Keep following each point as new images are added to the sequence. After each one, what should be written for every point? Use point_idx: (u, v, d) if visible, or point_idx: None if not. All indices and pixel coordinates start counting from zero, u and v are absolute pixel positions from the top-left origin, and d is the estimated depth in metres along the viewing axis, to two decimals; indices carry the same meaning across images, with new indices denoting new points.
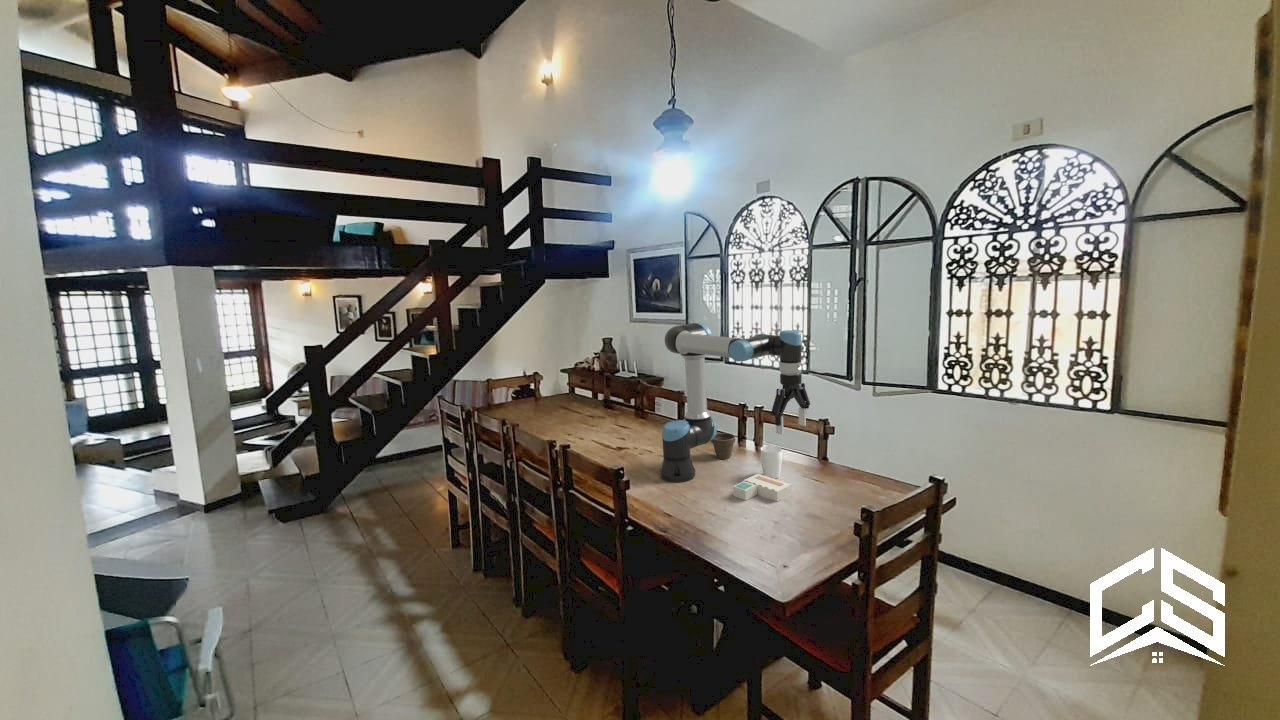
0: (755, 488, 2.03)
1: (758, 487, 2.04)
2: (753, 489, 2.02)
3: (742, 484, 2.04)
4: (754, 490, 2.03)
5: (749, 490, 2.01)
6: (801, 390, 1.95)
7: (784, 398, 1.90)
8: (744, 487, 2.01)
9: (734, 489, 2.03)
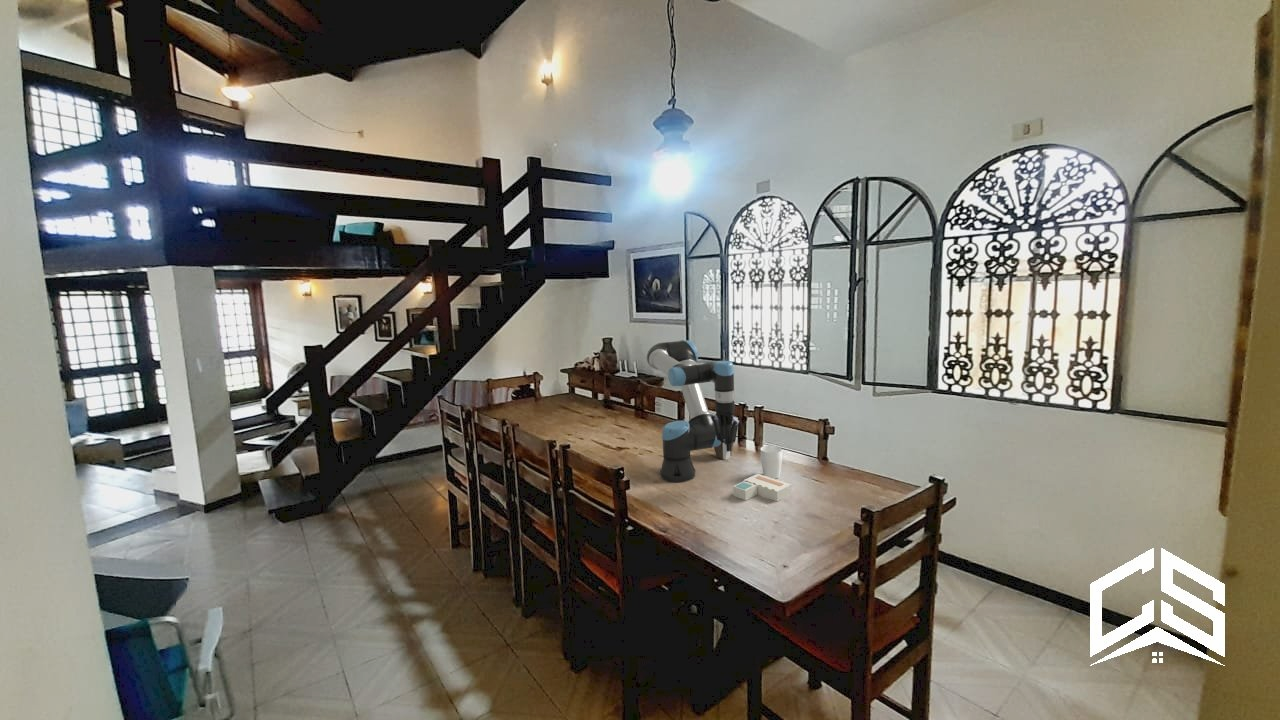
0: (755, 488, 2.03)
1: (758, 487, 2.04)
2: (753, 489, 2.02)
3: (742, 484, 2.04)
4: (754, 490, 2.03)
5: (749, 490, 2.01)
6: None
7: None
8: (744, 487, 2.01)
9: (734, 489, 2.03)
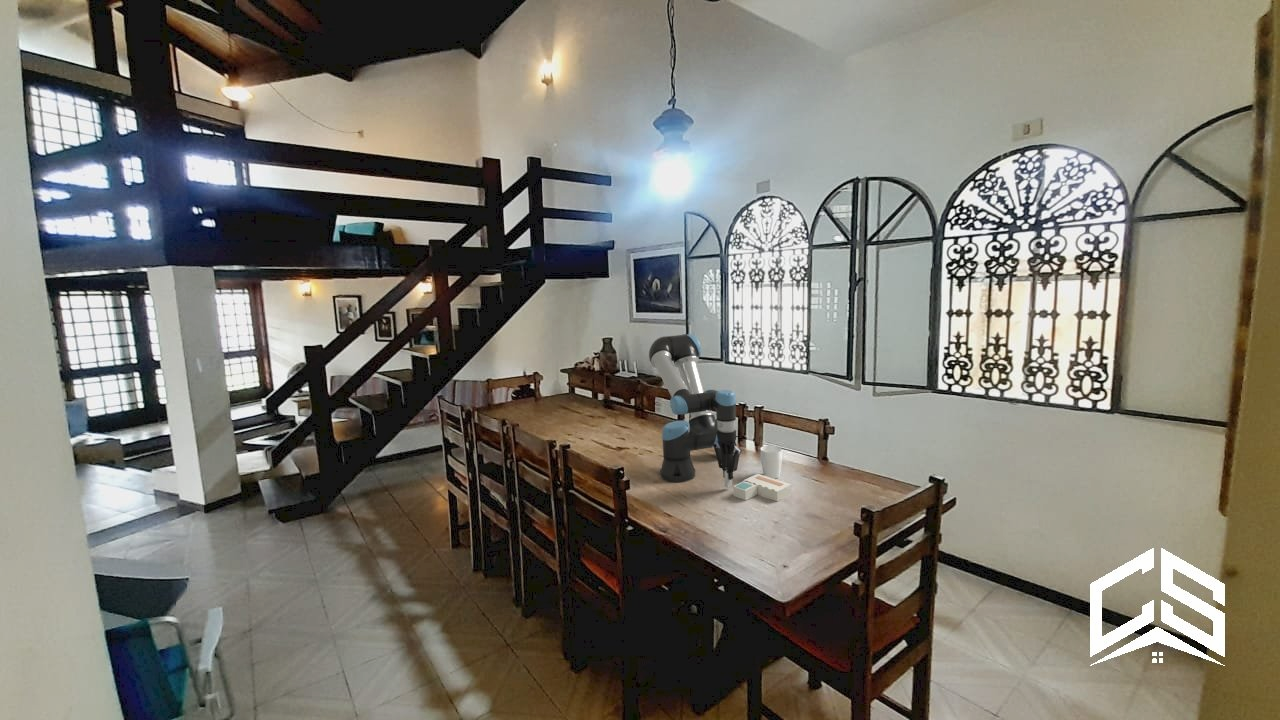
0: (755, 488, 2.03)
1: (758, 487, 2.04)
2: (753, 489, 2.02)
3: (742, 484, 2.04)
4: (754, 490, 2.03)
5: (749, 490, 2.01)
6: None
7: None
8: (744, 487, 2.01)
9: (734, 489, 2.03)
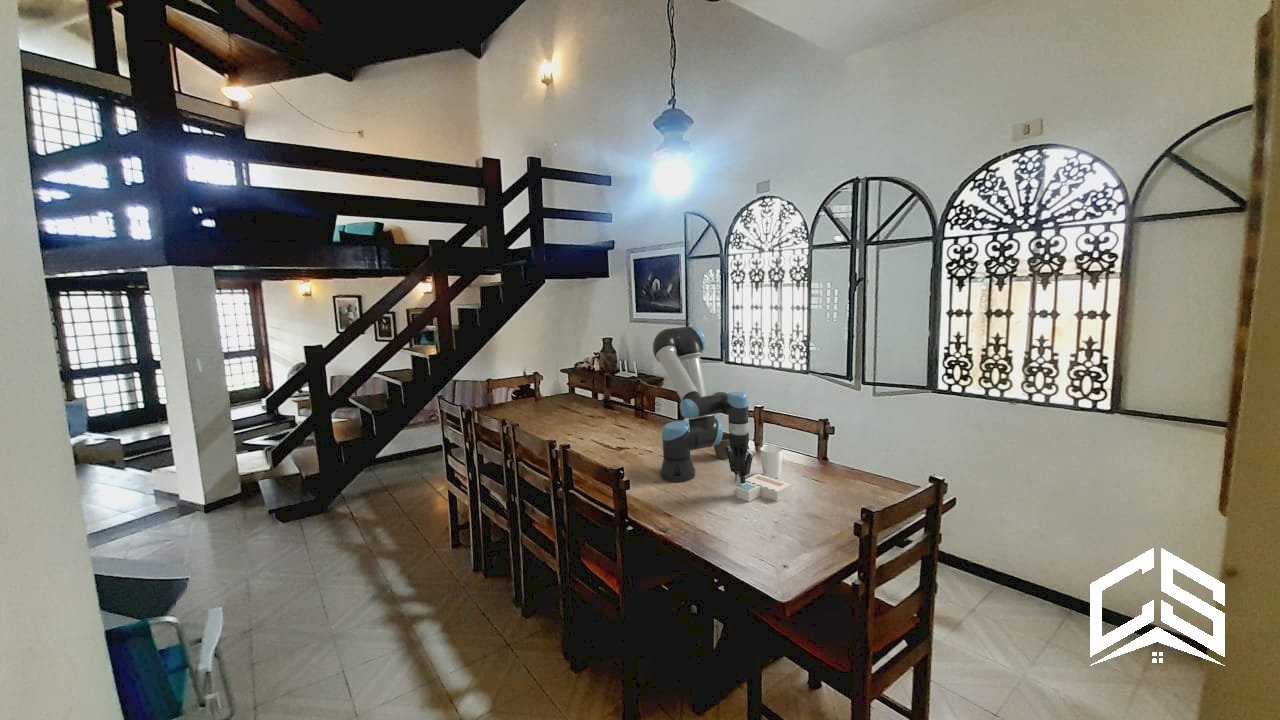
0: (758, 489, 2.02)
1: None
2: (756, 490, 2.01)
3: (745, 485, 2.03)
4: (757, 491, 2.01)
5: (752, 491, 1.99)
6: None
7: None
8: (747, 488, 2.00)
9: (737, 490, 2.02)
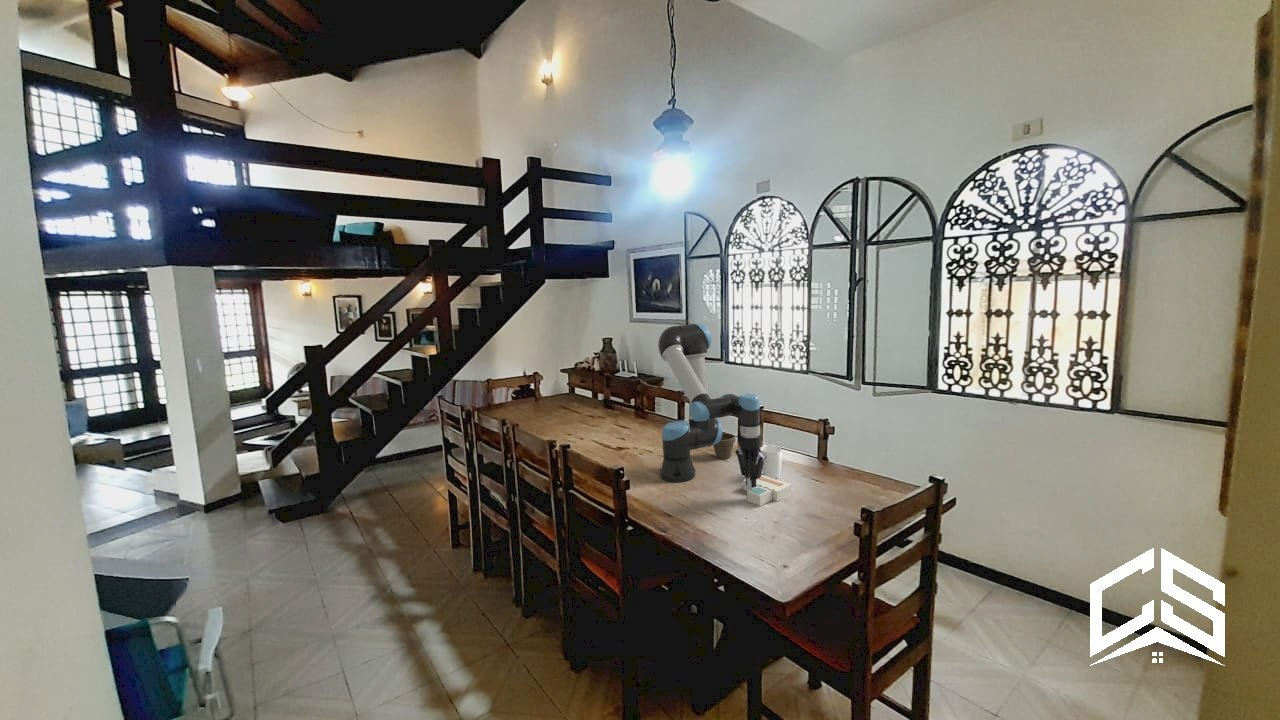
0: (770, 493, 1.98)
1: None
2: (767, 494, 1.97)
3: (756, 489, 1.99)
4: (769, 495, 1.97)
5: (764, 495, 1.95)
6: None
7: None
8: (759, 492, 1.96)
9: (748, 494, 1.98)
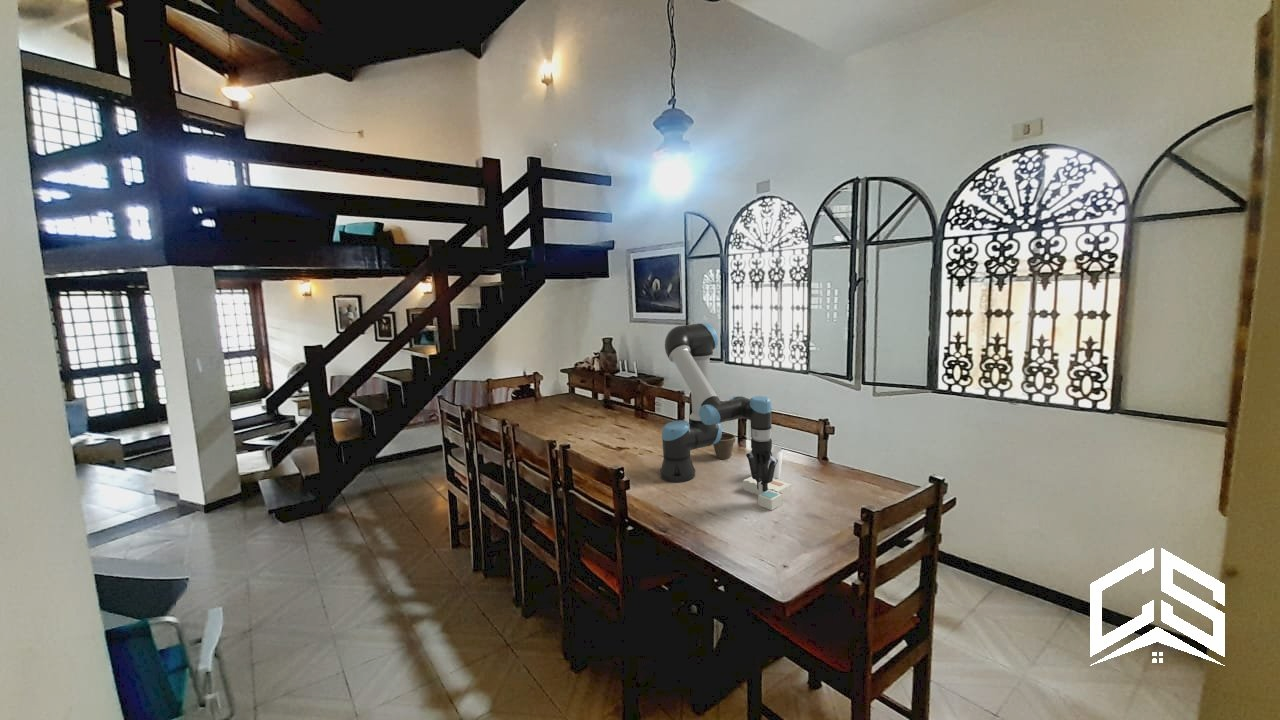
0: (781, 497, 1.94)
1: None
2: (779, 498, 1.93)
3: (767, 493, 1.95)
4: (780, 499, 1.94)
5: (775, 499, 1.92)
6: None
7: None
8: (770, 496, 1.92)
9: (759, 498, 1.94)
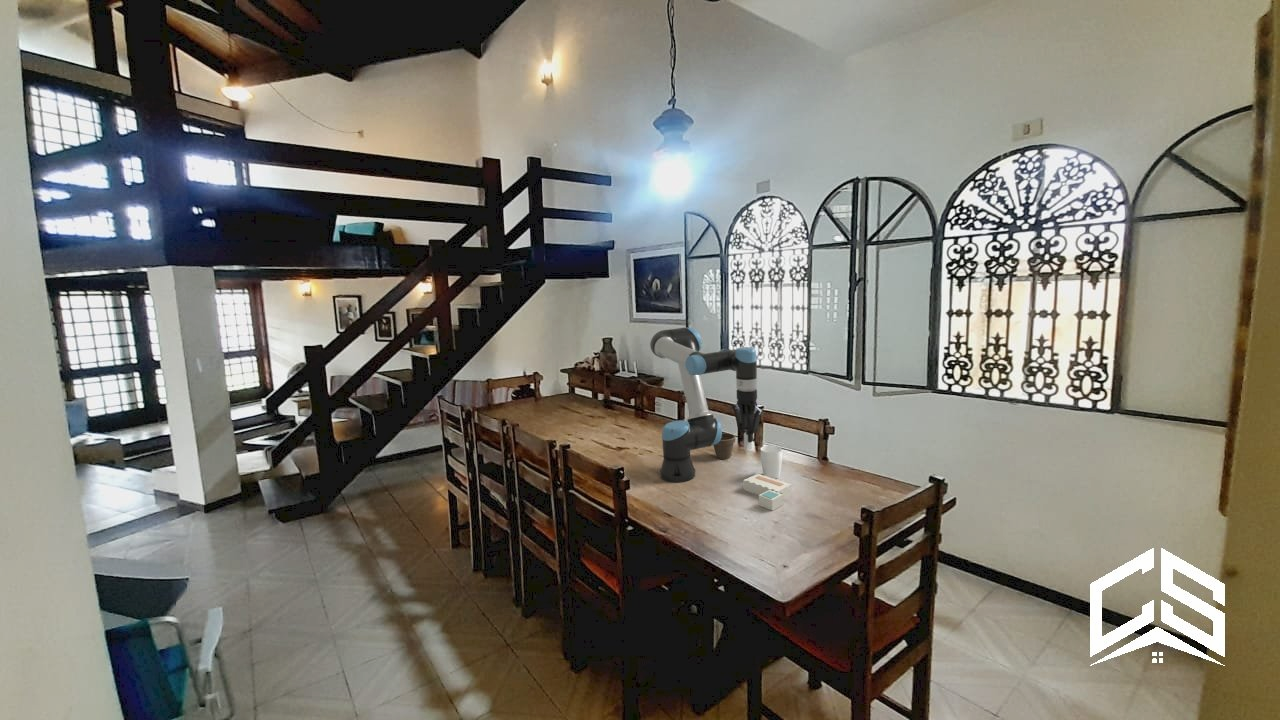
0: (782, 497, 1.94)
1: (758, 487, 2.04)
2: (780, 498, 1.93)
3: (768, 493, 1.95)
4: (781, 500, 1.93)
5: (776, 499, 1.91)
6: None
7: None
8: (770, 496, 1.92)
9: (759, 498, 1.94)
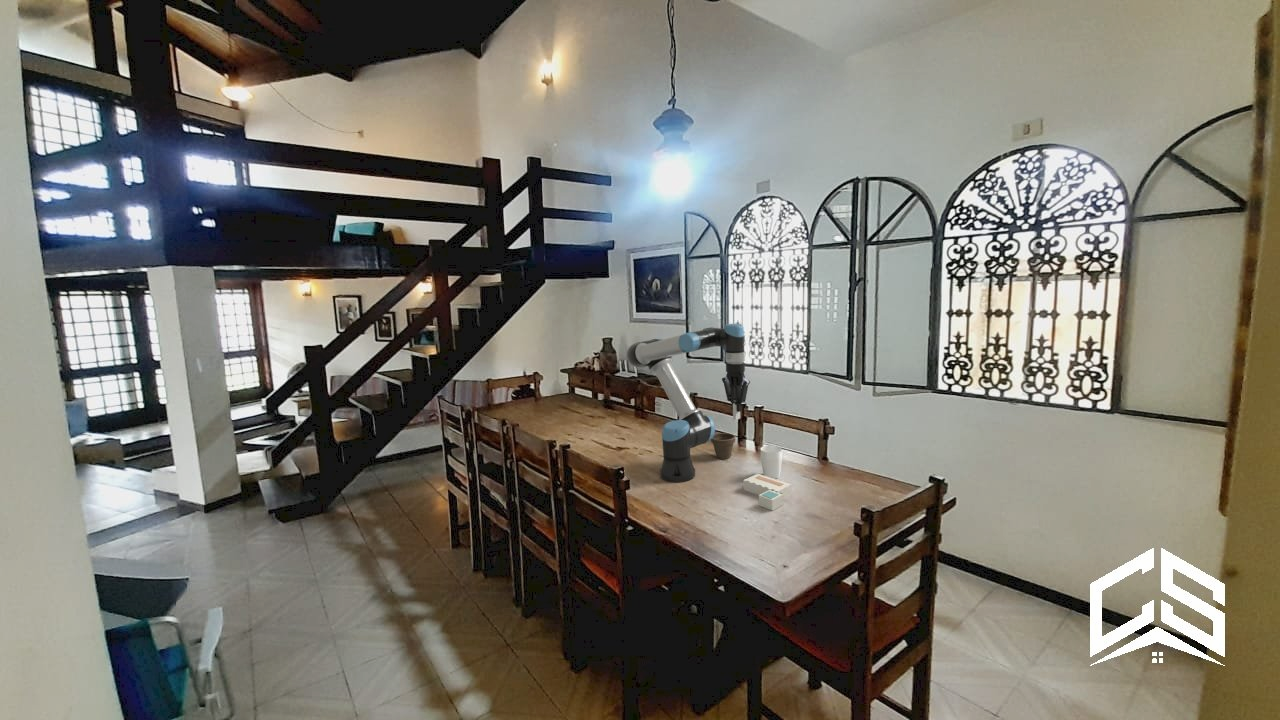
0: (782, 497, 1.94)
1: (758, 487, 2.04)
2: (780, 498, 1.93)
3: (768, 493, 1.95)
4: (781, 500, 1.93)
5: (776, 499, 1.91)
6: None
7: None
8: (770, 496, 1.92)
9: (759, 498, 1.94)
